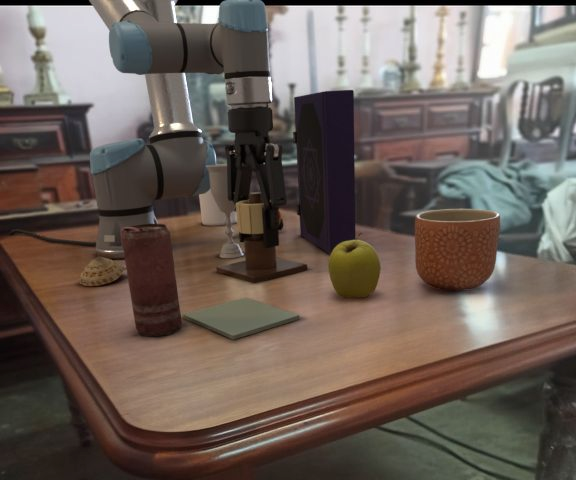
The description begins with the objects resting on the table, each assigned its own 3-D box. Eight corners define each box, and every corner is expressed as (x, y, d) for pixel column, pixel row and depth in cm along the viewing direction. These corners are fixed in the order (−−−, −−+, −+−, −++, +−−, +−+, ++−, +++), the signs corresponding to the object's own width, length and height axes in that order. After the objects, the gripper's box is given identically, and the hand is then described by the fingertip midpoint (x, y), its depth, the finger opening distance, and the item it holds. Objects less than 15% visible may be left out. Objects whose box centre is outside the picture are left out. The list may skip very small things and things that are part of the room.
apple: (356, 277, 96) (366, 220, 90) (384, 302, 90) (396, 243, 84) (314, 285, 93) (321, 227, 87) (340, 312, 87) (349, 252, 81)
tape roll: (230, 231, 106) (228, 202, 104) (262, 224, 110) (260, 197, 108) (253, 235, 101) (250, 206, 99) (285, 229, 105) (284, 200, 103)
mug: (207, 227, 157) (203, 187, 153) (198, 222, 165) (194, 184, 162) (251, 221, 161) (248, 183, 157) (240, 217, 170) (237, 180, 166)
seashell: (135, 262, 110) (110, 254, 103) (133, 292, 110) (107, 286, 103) (98, 261, 113) (71, 253, 105) (96, 290, 113) (68, 285, 105)
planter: (450, 301, 85) (454, 225, 81) (397, 283, 95) (398, 215, 91) (513, 286, 90) (519, 214, 86) (456, 271, 100) (459, 206, 96)
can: (138, 324, 83) (122, 224, 78) (183, 320, 83) (170, 221, 78) (131, 339, 77) (113, 232, 72) (179, 335, 78) (165, 228, 72)
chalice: (242, 259, 118) (234, 165, 111) (210, 259, 119) (200, 167, 113) (251, 251, 125) (244, 162, 118) (221, 251, 126) (212, 164, 119)
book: (357, 252, 118) (355, 89, 107) (327, 255, 117) (322, 91, 106) (323, 233, 140) (319, 95, 129) (298, 235, 138) (291, 97, 127)
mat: (183, 318, 84) (182, 314, 84) (245, 300, 91) (245, 297, 90) (233, 339, 75) (233, 335, 75) (299, 319, 81) (299, 315, 81)
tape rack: (216, 272, 109) (208, 195, 104) (268, 260, 116) (263, 187, 111) (254, 283, 100) (247, 199, 95) (307, 269, 107) (304, 190, 102)
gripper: (199, 109, 103) (212, 240, 111) (267, 105, 88) (276, 255, 97) (234, 108, 107) (244, 233, 116) (305, 103, 92) (310, 247, 101)
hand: (258, 243), depth 106 cm, fingers closed on tape roll, 7 cm apart
